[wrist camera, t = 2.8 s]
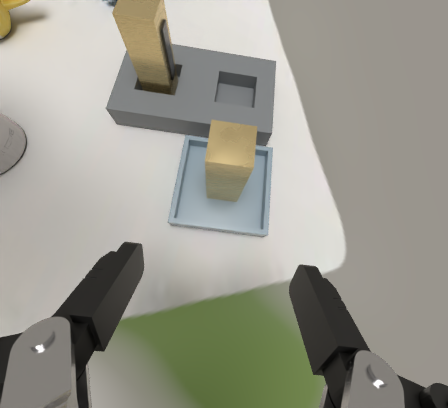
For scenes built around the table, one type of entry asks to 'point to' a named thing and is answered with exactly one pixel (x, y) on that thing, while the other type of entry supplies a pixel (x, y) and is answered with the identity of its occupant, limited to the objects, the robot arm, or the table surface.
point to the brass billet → (229, 159)
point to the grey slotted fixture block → (199, 94)
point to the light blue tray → (219, 209)
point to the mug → (7, 14)
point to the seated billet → (148, 43)
